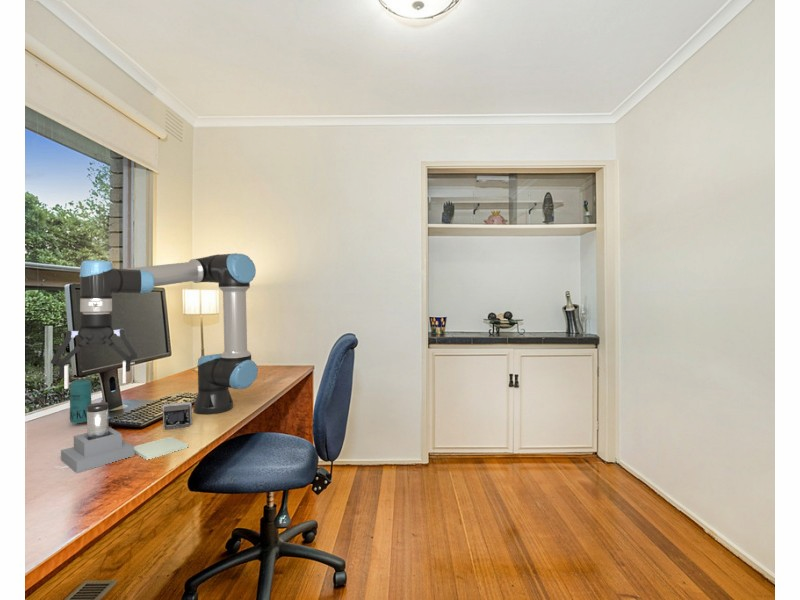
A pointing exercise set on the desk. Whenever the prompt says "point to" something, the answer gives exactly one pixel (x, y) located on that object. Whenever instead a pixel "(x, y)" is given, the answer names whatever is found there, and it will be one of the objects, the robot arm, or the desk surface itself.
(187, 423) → the electrical switch
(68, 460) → the socket block
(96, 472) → the desk surface
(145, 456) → the sage board
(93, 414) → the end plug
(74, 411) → the beverage bottle
